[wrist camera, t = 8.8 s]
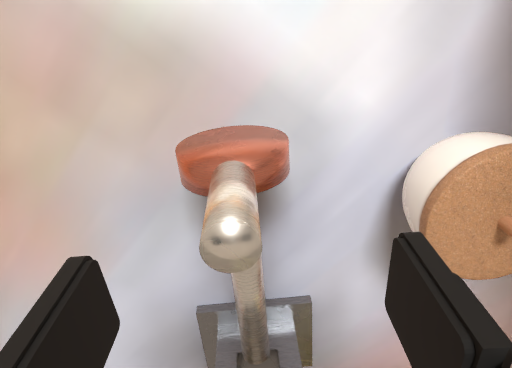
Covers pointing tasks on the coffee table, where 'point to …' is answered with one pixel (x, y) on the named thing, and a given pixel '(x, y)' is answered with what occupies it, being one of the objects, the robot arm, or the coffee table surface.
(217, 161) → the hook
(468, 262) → the lidded jar
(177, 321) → the coffee table surface
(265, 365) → the grey square peg socket
